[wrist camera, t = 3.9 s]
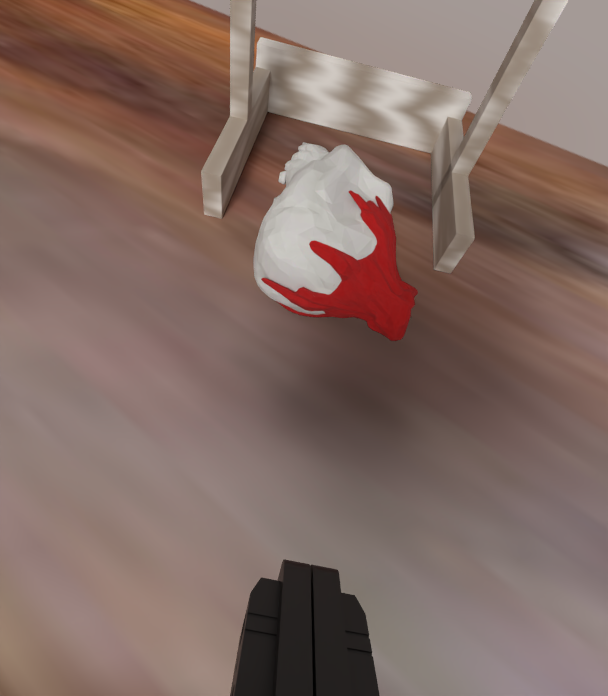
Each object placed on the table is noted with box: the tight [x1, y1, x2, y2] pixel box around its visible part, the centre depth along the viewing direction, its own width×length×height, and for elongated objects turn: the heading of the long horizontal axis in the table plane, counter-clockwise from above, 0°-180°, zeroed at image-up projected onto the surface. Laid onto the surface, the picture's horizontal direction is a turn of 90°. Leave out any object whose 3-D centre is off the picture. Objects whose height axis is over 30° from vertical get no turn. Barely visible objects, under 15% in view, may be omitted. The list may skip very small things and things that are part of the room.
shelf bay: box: [201, 0, 568, 274], centre depth 30 cm, size 22×20×21 cm
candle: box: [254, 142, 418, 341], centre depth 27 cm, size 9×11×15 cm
